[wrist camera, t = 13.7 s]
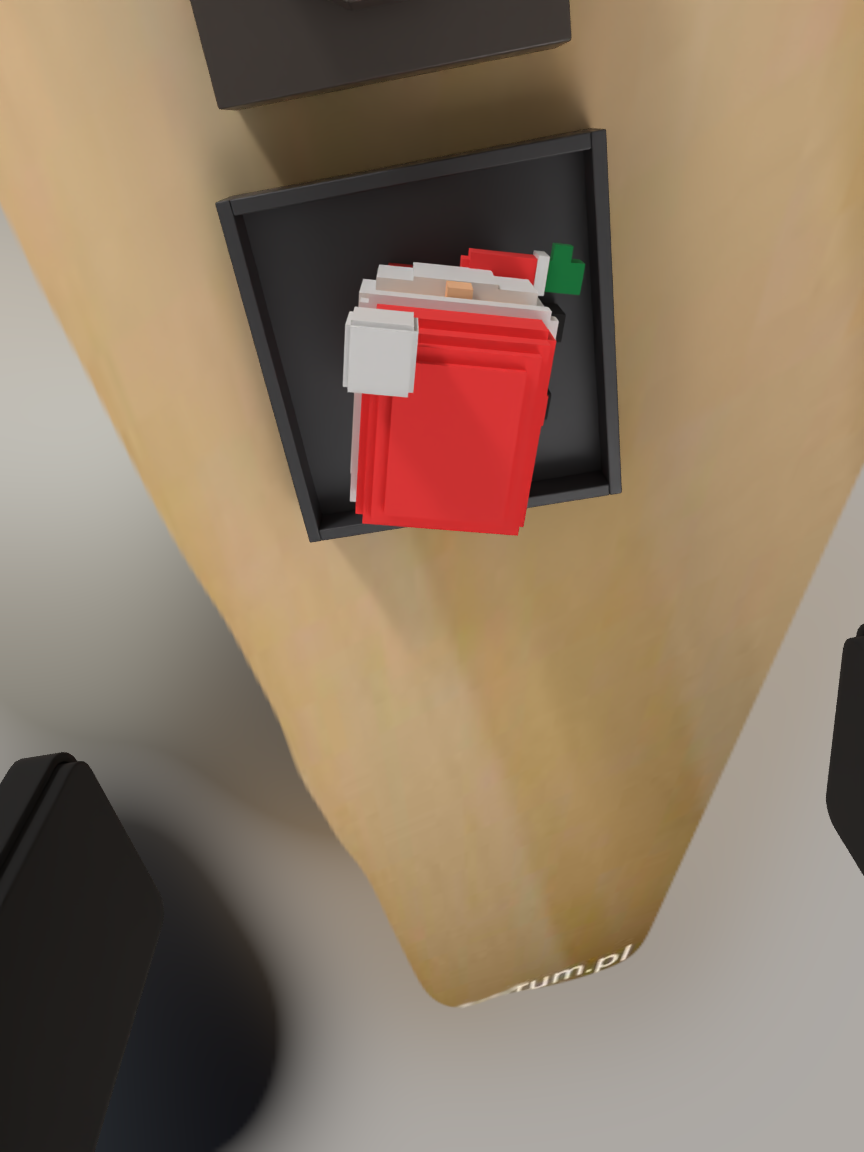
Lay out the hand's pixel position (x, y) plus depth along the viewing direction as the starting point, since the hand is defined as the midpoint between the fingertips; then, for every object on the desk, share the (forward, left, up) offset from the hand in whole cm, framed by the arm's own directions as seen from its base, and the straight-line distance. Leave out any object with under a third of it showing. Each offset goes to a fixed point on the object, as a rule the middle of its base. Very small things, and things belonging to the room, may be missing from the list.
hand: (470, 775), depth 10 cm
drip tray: (0, +1, -24) cm, 24 cm away
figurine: (-1, 0, -23) cm, 23 cm away
